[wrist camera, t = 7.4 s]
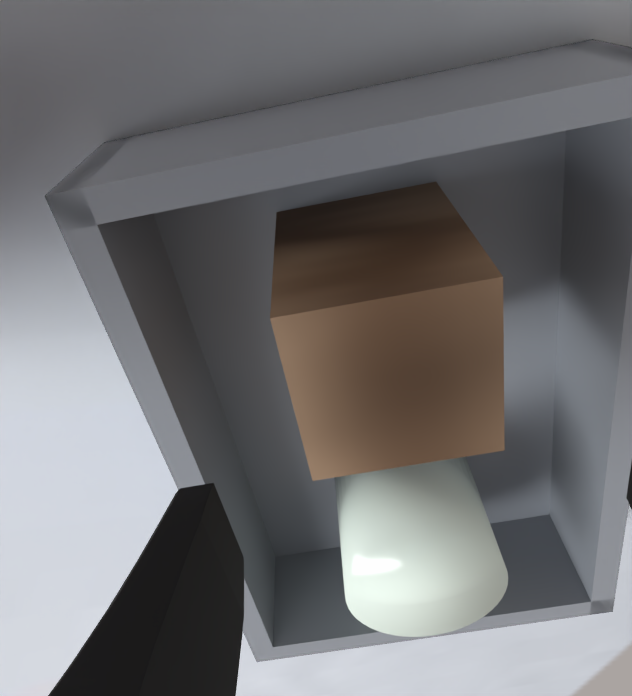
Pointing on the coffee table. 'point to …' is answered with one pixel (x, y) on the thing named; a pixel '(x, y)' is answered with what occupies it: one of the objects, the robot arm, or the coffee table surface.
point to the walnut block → (388, 332)
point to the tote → (261, 348)
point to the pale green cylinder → (418, 549)
